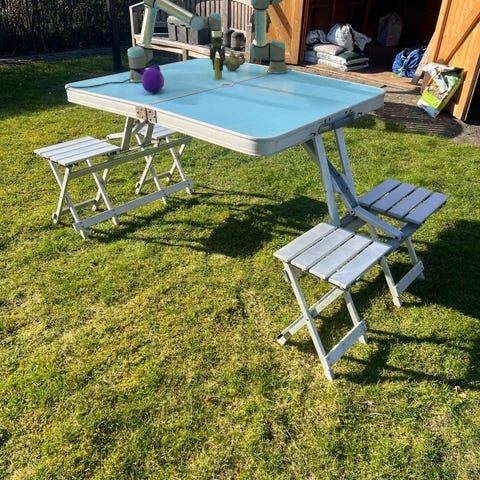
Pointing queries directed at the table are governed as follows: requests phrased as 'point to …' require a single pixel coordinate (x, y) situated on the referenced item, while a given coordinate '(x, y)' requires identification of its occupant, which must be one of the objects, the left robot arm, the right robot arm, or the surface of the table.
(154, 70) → the toy
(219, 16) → the left robot arm
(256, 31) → the right robot arm
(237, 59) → the teapot
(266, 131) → the table surface
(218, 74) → the olive green upright cylinder
